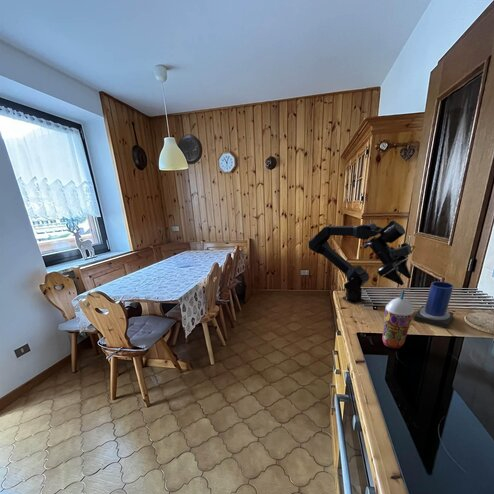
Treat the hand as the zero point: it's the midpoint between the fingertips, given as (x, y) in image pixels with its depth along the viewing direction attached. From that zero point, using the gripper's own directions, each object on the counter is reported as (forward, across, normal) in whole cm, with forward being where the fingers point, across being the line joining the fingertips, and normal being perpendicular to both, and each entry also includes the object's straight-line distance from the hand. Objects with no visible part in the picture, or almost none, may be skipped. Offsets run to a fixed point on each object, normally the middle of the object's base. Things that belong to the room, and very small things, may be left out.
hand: (406, 281), depth 112 cm
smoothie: (+14, -27, +6) cm, 31 cm away
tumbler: (+16, +1, -1) cm, 16 cm away
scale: (+18, +1, +1) cm, 18 cm away
